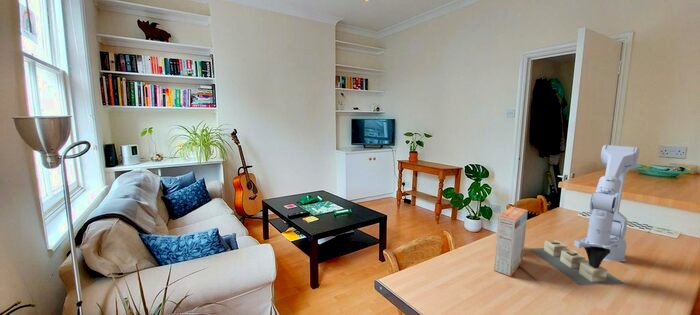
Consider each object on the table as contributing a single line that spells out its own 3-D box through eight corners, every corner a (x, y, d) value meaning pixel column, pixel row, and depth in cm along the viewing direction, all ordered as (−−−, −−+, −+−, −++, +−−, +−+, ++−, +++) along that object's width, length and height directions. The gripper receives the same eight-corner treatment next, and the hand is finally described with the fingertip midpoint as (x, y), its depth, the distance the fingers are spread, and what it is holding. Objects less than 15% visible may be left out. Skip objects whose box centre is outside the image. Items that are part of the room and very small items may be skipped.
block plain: (592, 272, 102) (594, 262, 101) (605, 281, 97) (607, 270, 96) (578, 273, 101) (580, 262, 101) (591, 281, 96) (593, 270, 96)
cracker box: (505, 257, 113) (511, 205, 110) (523, 262, 109) (529, 209, 106) (492, 270, 104) (497, 214, 100) (510, 277, 99) (517, 219, 96)
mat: (565, 248, 120) (565, 247, 120) (625, 285, 96) (625, 283, 95) (528, 249, 119) (528, 248, 119) (579, 286, 95) (579, 284, 94)
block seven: (572, 260, 110) (574, 250, 109) (583, 267, 105) (585, 256, 104) (559, 260, 110) (561, 250, 109) (570, 267, 105) (572, 257, 104)
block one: (555, 249, 118) (556, 239, 118) (565, 255, 113) (566, 245, 113) (543, 249, 118) (544, 240, 117) (552, 256, 113) (554, 246, 112)
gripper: (589, 234, 92) (583, 273, 94) (632, 233, 93) (625, 272, 95) (571, 225, 99) (566, 262, 101) (611, 224, 100) (605, 261, 102)
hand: (593, 266), depth 98 cm, fingers closed, pressing on block plain
